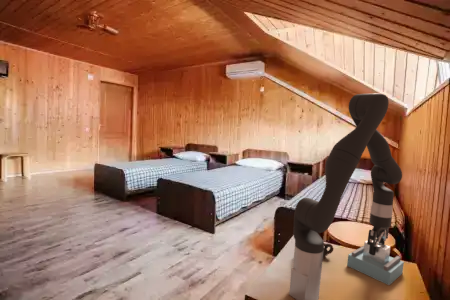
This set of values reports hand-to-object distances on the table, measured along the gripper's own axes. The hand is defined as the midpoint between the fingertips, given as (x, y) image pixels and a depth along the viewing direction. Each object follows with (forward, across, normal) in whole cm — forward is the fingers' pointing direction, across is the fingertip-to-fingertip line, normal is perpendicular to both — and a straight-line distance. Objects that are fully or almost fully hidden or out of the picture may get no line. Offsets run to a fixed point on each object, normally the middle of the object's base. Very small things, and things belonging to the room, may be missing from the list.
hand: (376, 251), depth 107 cm
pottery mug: (+8, -9, +20) cm, 24 cm away
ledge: (+8, 0, 0) cm, 8 cm away
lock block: (+3, 0, 0) cm, 3 cm away
